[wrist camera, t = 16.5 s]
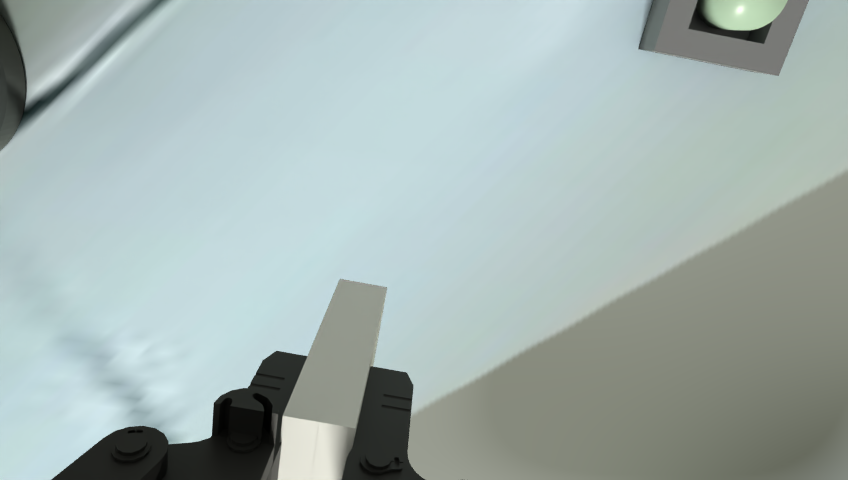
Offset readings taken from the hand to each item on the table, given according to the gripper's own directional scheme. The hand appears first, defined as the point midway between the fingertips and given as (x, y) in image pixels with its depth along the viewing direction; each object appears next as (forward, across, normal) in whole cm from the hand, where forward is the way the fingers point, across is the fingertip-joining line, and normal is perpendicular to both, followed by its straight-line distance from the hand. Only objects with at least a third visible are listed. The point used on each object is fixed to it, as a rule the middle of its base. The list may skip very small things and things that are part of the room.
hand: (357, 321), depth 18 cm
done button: (+23, +18, +14) cm, 32 cm away
